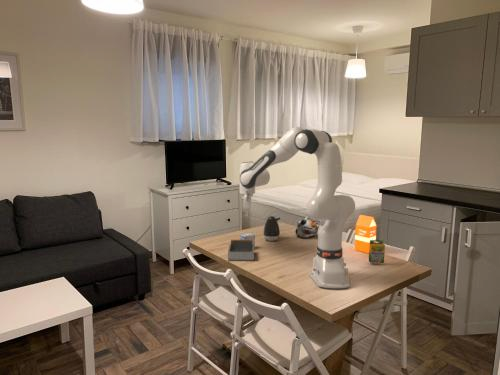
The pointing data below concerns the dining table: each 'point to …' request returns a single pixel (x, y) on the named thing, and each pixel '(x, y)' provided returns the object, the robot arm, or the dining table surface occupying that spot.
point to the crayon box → (376, 251)
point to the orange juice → (365, 233)
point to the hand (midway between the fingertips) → (247, 214)
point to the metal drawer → (241, 250)
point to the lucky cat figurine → (306, 228)
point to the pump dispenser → (271, 229)
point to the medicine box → (248, 238)
